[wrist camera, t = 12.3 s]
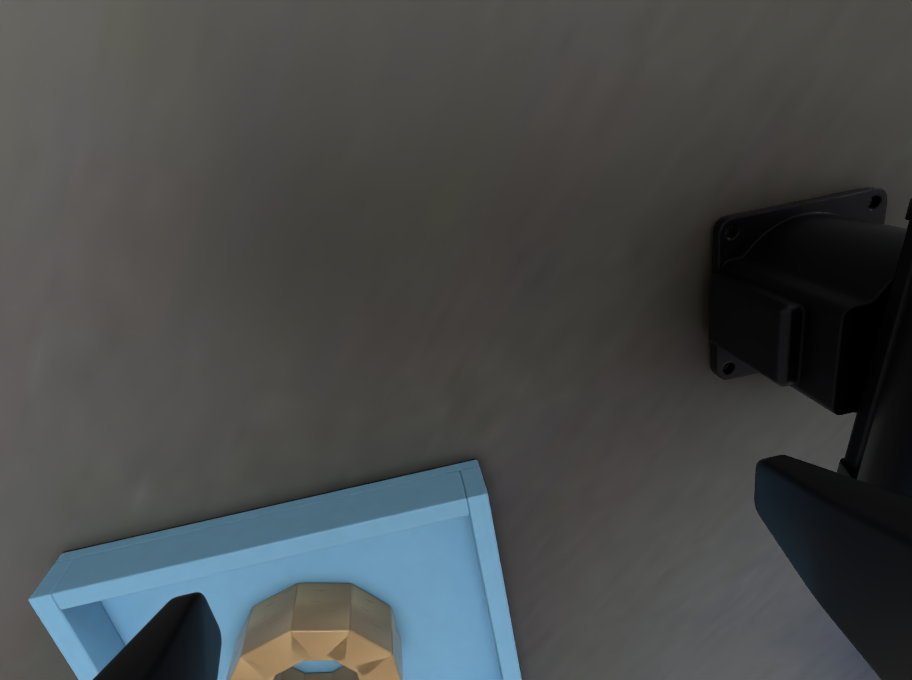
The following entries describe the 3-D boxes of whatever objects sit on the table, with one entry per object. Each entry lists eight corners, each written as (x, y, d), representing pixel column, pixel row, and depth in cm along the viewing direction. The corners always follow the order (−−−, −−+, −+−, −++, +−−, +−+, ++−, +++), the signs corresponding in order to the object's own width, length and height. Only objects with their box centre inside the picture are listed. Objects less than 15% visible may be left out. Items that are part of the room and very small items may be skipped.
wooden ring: (378, 563, 23) (379, 610, 21) (412, 677, 26) (416, 730, 23) (216, 601, 23) (198, 653, 20) (267, 714, 25) (257, 770, 23)
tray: (477, 458, 22) (488, 493, 20) (521, 696, 28) (533, 742, 26) (61, 553, 21) (26, 599, 19) (192, 780, 27) (177, 836, 25)
